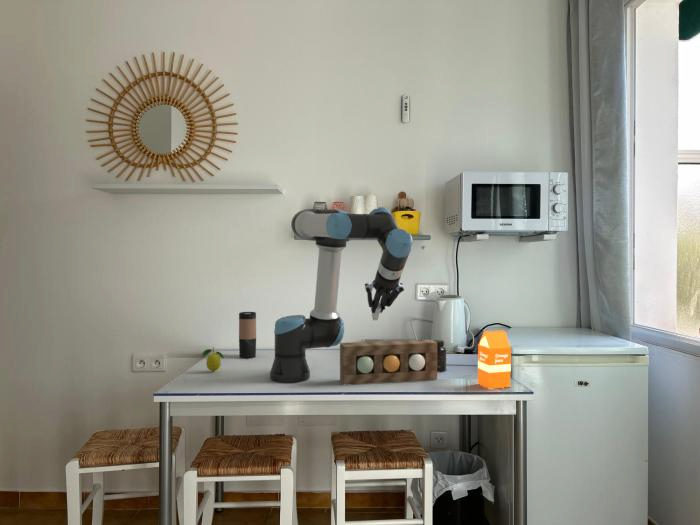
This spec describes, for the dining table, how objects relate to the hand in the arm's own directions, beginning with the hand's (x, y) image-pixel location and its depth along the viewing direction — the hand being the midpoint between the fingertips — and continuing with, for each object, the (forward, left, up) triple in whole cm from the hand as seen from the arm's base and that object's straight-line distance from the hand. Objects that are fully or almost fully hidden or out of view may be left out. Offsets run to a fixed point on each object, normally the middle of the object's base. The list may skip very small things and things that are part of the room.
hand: (374, 317), depth 176 cm
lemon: (-55, +41, -26) cm, 74 cm away
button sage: (0, +13, -22) cm, 26 cm away
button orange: (+10, +13, -22) cm, 27 cm away
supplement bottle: (+34, +26, -26) cm, 50 cm away
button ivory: (+20, +13, -22) cm, 32 cm away
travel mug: (-41, +66, -26) cm, 82 cm away
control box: (+10, +15, -26) cm, 32 cm away
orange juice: (+45, 0, -26) cm, 52 cm away
